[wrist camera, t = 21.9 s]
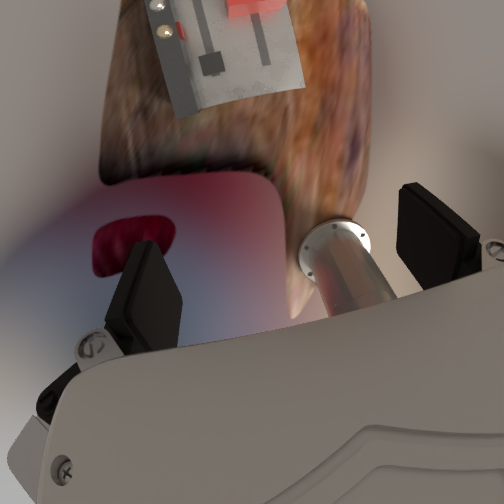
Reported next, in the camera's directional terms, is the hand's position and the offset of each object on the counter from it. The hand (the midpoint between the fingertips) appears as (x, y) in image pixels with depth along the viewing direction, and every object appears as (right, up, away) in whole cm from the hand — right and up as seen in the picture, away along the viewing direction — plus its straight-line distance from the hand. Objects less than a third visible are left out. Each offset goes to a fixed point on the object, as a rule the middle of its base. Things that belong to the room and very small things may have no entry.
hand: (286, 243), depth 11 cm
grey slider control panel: (-4, +27, +18) cm, 33 cm away
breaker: (-6, +21, +18) cm, 28 cm away
